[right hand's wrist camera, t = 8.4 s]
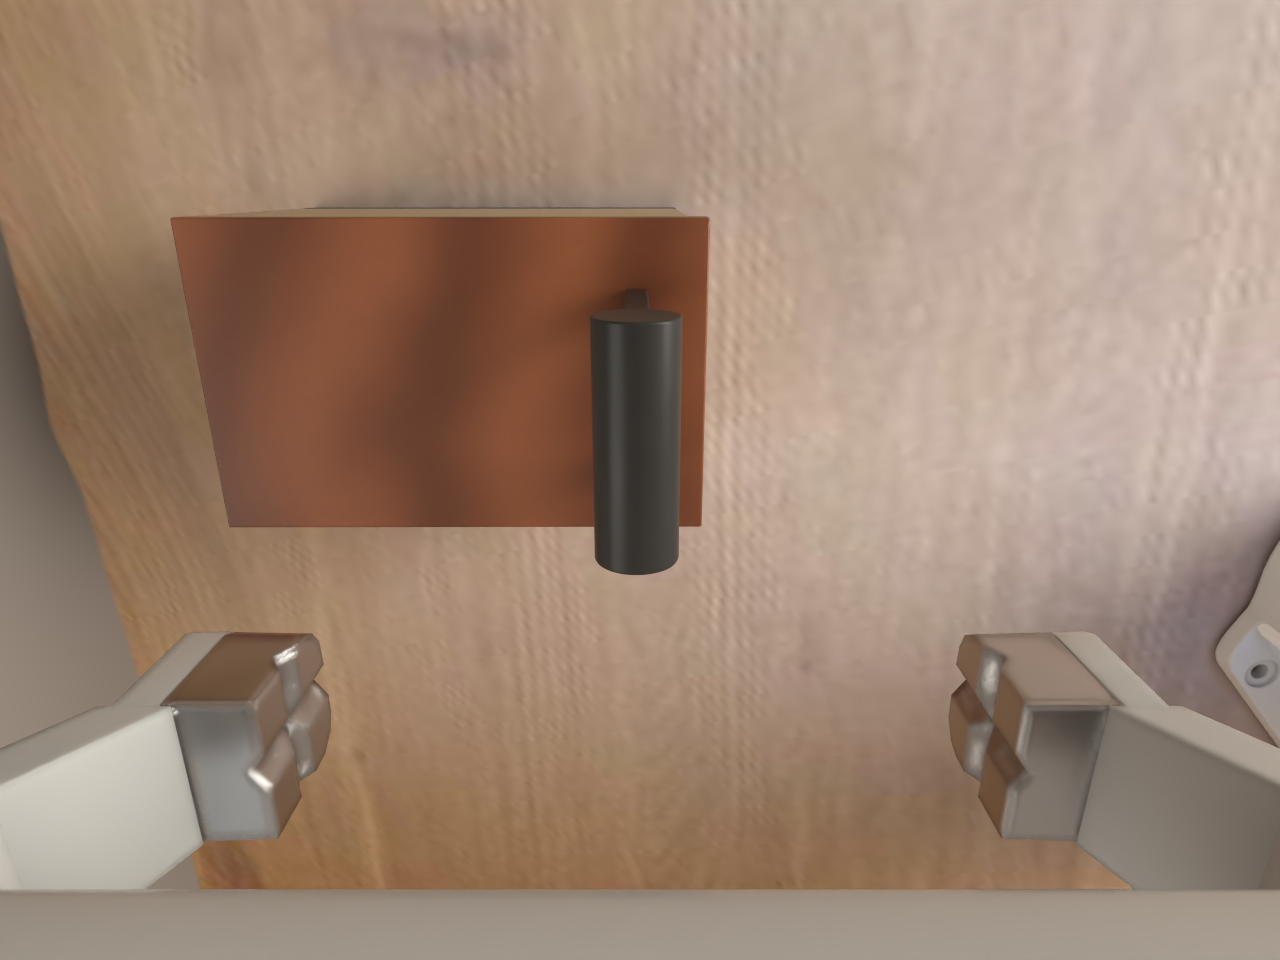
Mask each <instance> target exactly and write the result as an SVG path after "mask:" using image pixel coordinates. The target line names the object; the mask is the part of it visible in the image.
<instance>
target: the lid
mask: <svg viewBox="0 0 1280 960" xmlns="http://www.w3.org/2000/svg"><path fill="white" fill-rule="evenodd" d="M171 225H172V230H173V235H174V240H175V245H176V251H177V256H178V261H179V266H180V272H181V277H182V282H183V287H184V292H185V298H186V303H187V308H188V313H189V318H190V324H191V329H192V334H193V339H194V345H195V350H196V355H197V360H198V365H199V371H200V376H201V381H202V386H203V391H204V397H205V402H206V407H207V412H208V418H209V423H210V428H211V433H212V438H213V444H214V449H215V454H216V459H217V465H218V470H219V475H220V480H221V485H222V491H223V496H224V501H225V506H226V511H227V517H228V522H229V526H230V527H594V533H595V559H596V561H597V562H598V564H599V565H600V566H602V567H603V568H605V569H607V570H609V571H612V572H616V573H620V574H628V575H645V574H653V573H657V572H661V571H664V570H666V569H668V568H670V567H671V566H673V565H674V564H675V563H676V561H677V560H678V552H679V526H701V524H702V488H703V453H704V417H705V381H706V346H707V310H708V275H709V239H710V218H708V217H174V218H171Z"/></svg>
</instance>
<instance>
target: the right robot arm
mask: <svg viewBox="0 0 1280 960" xmlns="http://www.w3.org/2000/svg"><path fill="white" fill-rule="evenodd" d="M1215 658H1216V661H1217V663H1218V665H1219V666H1220V667H1221V669H1222V670H1223V672H1224V673H1225V674H1226V676H1227V677H1228V678H1229V680H1230V681H1231V683H1232V684H1233V685H1234V687H1235V688H1236V690H1237V691H1238V692H1239V694H1240V695H1241V696H1242V698H1243V699H1244V701H1245V702H1246V703H1247V705H1248V706H1249V708H1250V709H1251V710H1252V712H1253V713H1254V714H1255V716H1256V717H1257V719H1258V720H1259V721H1260V723H1261V724H1262V726H1263V727H1264V728H1265V730H1266V731H1267V732H1268V734H1269V735H1270V737H1271V738H1272V739H1273V741H1274V742H1275V743H1276V745H1277V746H1278V748H1277V747H1275V746H1273V745H1270V744H1268V743H1266V742H1263V741H1261V740H1259V739H1256V738H1254V737H1252V736H1250V735H1247V734H1245V733H1243V732H1240V731H1238V730H1236V729H1234V728H1231V727H1229V726H1227V725H1224V724H1222V723H1220V722H1217V721H1215V720H1213V719H1211V718H1208V717H1206V716H1204V715H1201V714H1199V713H1197V712H1195V711H1192V710H1190V709H1188V708H1185V707H1183V706H1168V705H1167V704H1166V703H1165V702H1164V701H1163V700H1162V699H1161V698H1160V697H1159V696H1158V695H1157V694H1156V693H1155V692H1154V691H1153V690H1152V689H1151V688H1150V687H1149V686H1148V685H1147V684H1146V683H1145V682H1144V681H1143V680H1142V679H1141V678H1139V677H1138V676H1137V675H1136V674H1135V673H1134V672H1133V671H1132V670H1131V669H1130V668H1129V667H1128V666H1127V665H1126V664H1125V663H1124V662H1123V661H1122V660H1121V659H1120V658H1119V657H1118V656H1117V655H1116V654H1115V653H1114V652H1113V651H1112V650H1111V649H1110V648H1109V647H1108V646H1107V645H1106V644H1105V643H1104V642H1102V641H1101V640H1100V639H1099V638H1098V637H1097V636H1096V635H1094V634H1091V633H1089V632H1086V631H1078V632H1054V633H1012V634H974V635H965V636H964V638H963V640H962V642H961V644H960V647H959V652H958V658H957V663H956V665H957V666H958V668H959V669H960V671H961V672H962V674H963V676H964V677H965V679H966V680H965V681H964V682H963V683H962V684H961V686H960V687H959V688H958V689H957V690H956V691H955V692H954V693H953V694H952V695H951V703H950V712H949V725H950V736H951V742H952V745H953V748H954V751H955V755H956V757H957V759H958V761H959V763H960V765H961V766H962V768H963V770H964V771H965V772H967V773H968V774H970V775H971V776H973V777H974V778H976V779H977V780H979V781H980V782H981V784H980V790H979V795H978V797H979V799H980V801H981V803H982V804H983V806H984V808H985V810H986V812H987V813H988V815H989V817H990V819H991V820H992V822H993V824H994V826H995V827H996V829H997V831H998V833H999V835H1000V836H1001V838H1002V839H1029V840H1065V841H1077V845H1078V846H1079V847H1081V848H1082V849H1083V850H1085V851H1086V852H1087V853H1088V854H1090V855H1091V856H1092V857H1094V858H1095V859H1096V860H1097V861H1099V862H1100V863H1101V864H1103V865H1104V866H1105V867H1106V868H1108V869H1109V870H1110V871H1112V872H1113V873H1114V874H1115V875H1117V876H1118V877H1119V878H1121V879H1122V880H1123V881H1124V882H1126V883H1127V884H1128V885H1130V886H1131V887H1132V888H1133V889H147V888H148V887H149V886H151V885H152V884H153V883H154V882H156V881H157V880H158V879H160V878H161V877H162V876H163V875H165V874H166V873H167V872H169V871H170V870H171V869H173V868H174V867H175V866H176V865H178V864H179V863H180V862H182V861H183V860H184V859H185V858H187V857H188V856H189V855H191V854H192V853H193V852H194V851H196V850H197V849H198V848H200V847H201V846H202V845H203V841H215V840H250V839H278V838H279V836H280V835H281V833H282V831H283V829H284V828H285V826H286V824H287V822H288V820H289V819H290V817H291V815H292V813H293V812H294V810H295V808H296V806H297V804H298V803H299V801H300V799H301V797H302V795H301V790H300V784H299V782H300V781H301V780H303V779H304V778H306V777H307V776H309V775H310V774H312V773H313V772H315V771H316V770H317V768H318V766H319V764H320V763H321V761H322V759H323V757H324V755H325V752H326V748H327V744H328V739H329V735H330V731H331V709H330V702H329V695H328V694H327V693H326V692H325V691H324V690H323V689H322V688H321V687H320V686H319V684H318V683H317V682H316V681H315V680H314V679H315V677H316V676H317V674H318V672H319V671H320V669H321V668H322V666H323V665H324V664H323V658H322V653H321V648H320V643H319V641H318V640H317V639H316V638H315V636H314V635H313V634H303V633H252V632H235V633H232V632H195V633H189V634H185V635H184V636H183V637H182V638H181V639H180V640H179V641H178V642H177V643H176V644H175V645H174V646H173V647H172V648H171V649H170V650H168V651H167V652H166V653H165V654H164V655H163V656H162V657H161V658H160V659H159V660H158V661H157V662H156V663H155V664H154V665H153V666H152V667H151V668H150V669H149V670H148V671H147V672H146V673H145V674H144V675H143V676H142V677H141V678H140V679H139V680H138V681H137V682H135V683H134V684H133V685H132V686H131V687H130V688H129V689H128V690H127V691H126V692H125V693H124V694H123V695H122V696H121V697H120V698H119V699H118V700H117V701H116V702H115V703H114V704H113V705H112V706H97V707H95V708H92V709H90V710H88V711H85V712H83V713H81V714H79V715H76V716H74V717H72V718H69V719H67V720H65V721H62V722H60V723H58V724H56V725H53V726H51V727H49V728H46V729H44V730H42V731H39V732H37V733H35V734H33V735H30V736H28V737H26V738H23V739H21V740H19V741H16V742H14V743H12V744H10V745H7V746H5V747H3V748H0V960H1280V541H1279V542H1278V544H1277V545H1276V547H1275V548H1274V550H1273V552H1272V553H1271V555H1270V557H1269V559H1268V561H1267V563H1266V565H1265V568H1264V570H1263V572H1262V575H1261V578H1260V580H1259V583H1258V586H1257V588H1256V591H1255V594H1254V596H1253V598H1252V600H1251V602H1250V604H1249V606H1248V607H1247V609H1246V610H1245V611H1244V612H1243V613H1242V614H1241V615H1240V616H1239V617H1238V619H1237V620H1236V621H1235V622H1234V623H1233V624H1232V625H1231V627H1230V628H1229V629H1228V630H1227V632H1226V633H1225V634H1224V635H1223V637H1222V638H1221V640H1220V641H1219V643H1218V645H1217V647H1216V651H1215ZM1255 666H1256V667H1255ZM1254 667H1255V668H1254ZM1253 668H1254V669H1253Z"/></svg>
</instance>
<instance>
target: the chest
mask: <svg viewBox="0 0 1280 960" xmlns="http://www.w3.org/2000/svg"><path fill="white" fill-rule="evenodd" d="M189 217H688V216H686V215H684V214H683V213H681V212H679V211H678V210H676V208H305V209H295V210H280V211H265V212H250V213H234V214H219V215H204V216H189Z"/></svg>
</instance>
